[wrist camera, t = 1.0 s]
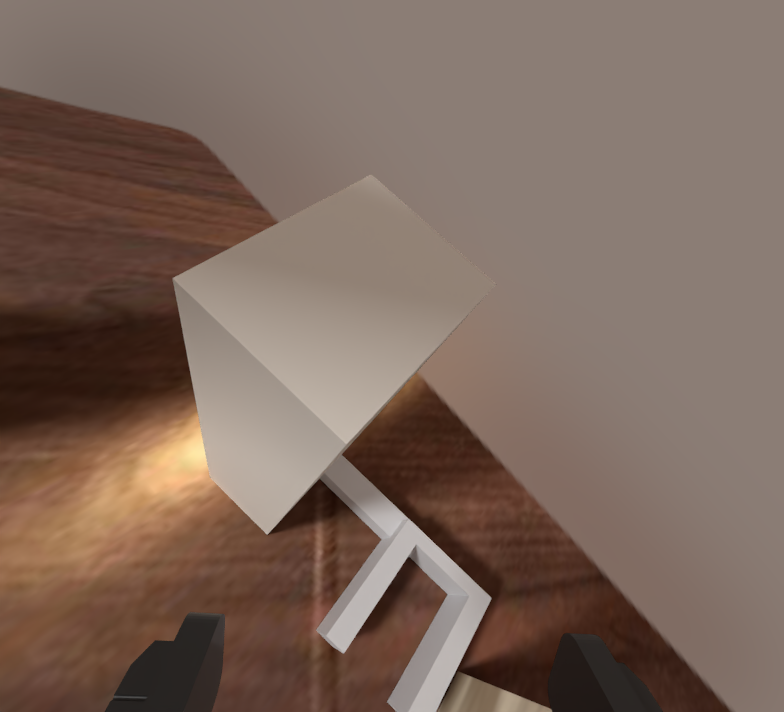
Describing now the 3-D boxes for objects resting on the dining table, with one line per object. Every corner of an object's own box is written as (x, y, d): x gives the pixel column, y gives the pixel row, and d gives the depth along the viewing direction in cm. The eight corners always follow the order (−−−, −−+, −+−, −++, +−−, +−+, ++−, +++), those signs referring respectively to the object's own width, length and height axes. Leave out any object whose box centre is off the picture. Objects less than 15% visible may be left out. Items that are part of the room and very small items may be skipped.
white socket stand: (186, 498, 29) (91, 320, 9) (289, 407, 34) (371, 174, 15) (403, 718, 27) (877, 1098, 7) (474, 585, 33) (850, 595, 13)
